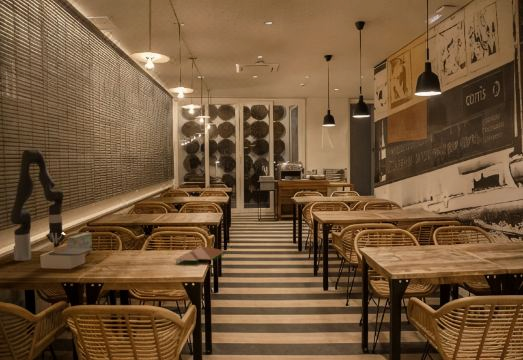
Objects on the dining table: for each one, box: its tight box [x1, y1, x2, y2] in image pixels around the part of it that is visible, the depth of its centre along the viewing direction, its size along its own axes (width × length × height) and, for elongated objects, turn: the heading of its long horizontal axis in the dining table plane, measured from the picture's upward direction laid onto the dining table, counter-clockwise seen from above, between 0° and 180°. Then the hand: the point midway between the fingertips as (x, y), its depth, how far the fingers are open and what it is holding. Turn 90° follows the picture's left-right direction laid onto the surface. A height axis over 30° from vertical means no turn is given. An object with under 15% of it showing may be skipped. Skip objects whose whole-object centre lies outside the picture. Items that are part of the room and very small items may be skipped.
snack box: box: [66, 232, 93, 257], centre depth 315 cm, size 21×6×15 cm, turn 168°
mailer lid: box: [49, 243, 94, 255], centre depth 289 cm, size 20×16×4 cm
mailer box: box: [39, 250, 86, 270], centre depth 291 cm, size 20×16×8 cm
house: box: [174, 246, 226, 265], centre depth 301 cm, size 23×33×8 cm
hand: (56, 249), depth 291 cm, fingers closed
